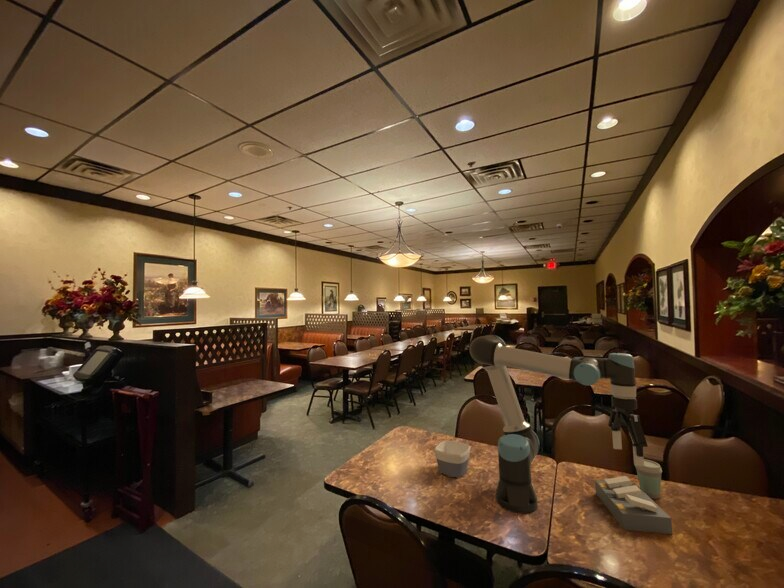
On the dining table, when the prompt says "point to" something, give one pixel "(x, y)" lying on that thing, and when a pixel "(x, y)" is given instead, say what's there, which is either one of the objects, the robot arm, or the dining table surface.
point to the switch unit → (634, 511)
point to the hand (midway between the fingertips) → (627, 456)
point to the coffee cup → (650, 478)
